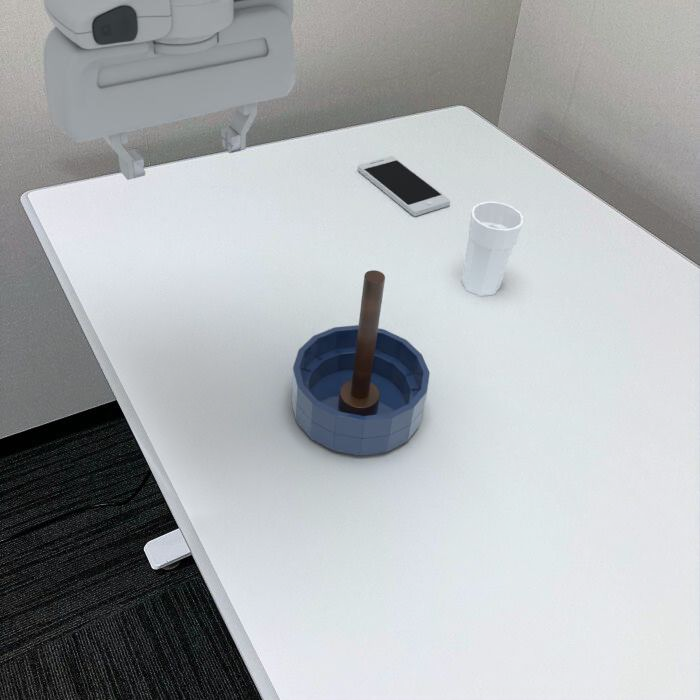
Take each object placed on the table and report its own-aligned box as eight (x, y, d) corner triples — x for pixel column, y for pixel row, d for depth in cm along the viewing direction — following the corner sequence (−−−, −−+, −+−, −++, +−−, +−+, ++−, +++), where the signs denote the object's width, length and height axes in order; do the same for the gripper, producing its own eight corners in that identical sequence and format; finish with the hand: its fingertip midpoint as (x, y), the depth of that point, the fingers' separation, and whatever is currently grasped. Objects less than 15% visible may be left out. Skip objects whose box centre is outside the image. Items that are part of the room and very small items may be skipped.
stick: (353, 425, 84) (369, 296, 72) (330, 400, 86) (342, 270, 74) (385, 410, 86) (406, 281, 74) (362, 386, 88) (379, 257, 76)
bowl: (340, 479, 79) (345, 440, 75) (268, 392, 87) (268, 353, 83) (447, 424, 86) (456, 386, 82) (370, 348, 94) (375, 310, 90)
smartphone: (414, 216, 116) (415, 211, 116) (356, 169, 125) (357, 164, 125) (450, 205, 120) (451, 200, 119) (391, 160, 129) (392, 155, 128)
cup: (481, 264, 109) (498, 196, 101) (514, 289, 105) (534, 221, 98) (446, 278, 106) (460, 209, 98) (479, 305, 102) (497, 235, 95)
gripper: (272, -37, 63) (270, 120, 73) (19, -4, 54) (55, 172, 63) (314, -12, 60) (307, 150, 69) (52, 28, 50) (84, 210, 60)
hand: (185, 161), depth 66 cm, fingers open, 8 cm apart
